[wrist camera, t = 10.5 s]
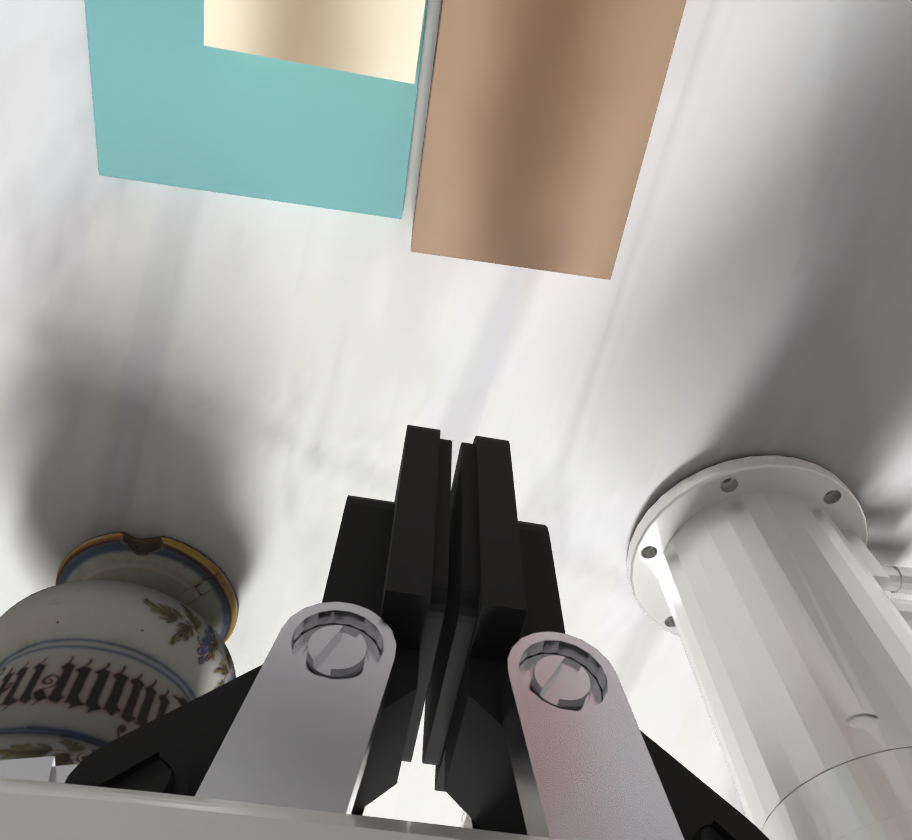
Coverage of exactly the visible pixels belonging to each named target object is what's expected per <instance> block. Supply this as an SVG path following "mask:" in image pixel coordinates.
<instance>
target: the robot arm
mask: <svg viewBox="0 0 912 840" xmlns="http://www.w3.org/2000/svg"><path fill="white" fill-rule="evenodd" d="M451 459H452V441H451V440H444V439H440V430H437V429H431V428H424V427H418V426H412V425H407V431H406V436H405V442H404V448H403V454H402V460H401V466H400V472H399V478H398V484H397V490H396V496H395V502H389V501H383V500H376V499H369V498H363V497H356V496H349V495H348V497H347V501H346V505H345V509H344V513H343V517H342V521H341V526H340V530H339V534H338V538H337V542H336V546H335V551H334V555H333V559H332V563H331V567H330V572H329V576H328V580H327V584H326V588H325V592H324V597H323V601H322V603H319V604H316V605H313V606H310V607H307V608H304V609H302V610H301V611H299V612H298V613H296V614H295V615H293V616H292V617H290V619H289V620H288V621H287V622H286V624H285V625H284V626H283V628H282V629H281V631H280V633H279V635H278V637H277V639H276V640H275V642H274V644H273V646H272V648H271V650H270V652H269V654H268V656H267V658H266V660H265V662H264V664H263V665H261V666H259V667H257V668H255V669H253V670H251V671H249V672H247V673H245V674H243V675H241V676H239V677H237V678H235V679H233V680H231V681H229V682H227V683H225V684H223V685H221V686H219V687H217V688H216V689H214V690H212V691H210V692H208V693H206V694H204V695H202V696H200V697H198V698H196V699H194V700H192V701H190V702H188V703H186V704H184V705H182V706H180V707H178V708H176V709H174V710H172V711H170V712H168V713H166V714H164V715H162V716H160V717H158V718H156V719H154V720H152V721H150V722H148V723H146V724H144V725H142V726H141V727H139V728H137V729H135V730H133V731H131V732H129V733H127V734H125V735H123V736H121V737H119V738H117V739H115V740H113V741H111V742H109V743H107V744H105V745H103V746H102V747H100V748H99V749H97V750H96V751H94V752H93V753H91V754H90V755H88V756H87V757H85V758H84V759H83V760H82V761H81V762H80V763H79V764H73V765H61V766H55V758H54V756H49V757H36V758H24V759H11V760H0V840H912V601H911V600H901V599H891V598H888V596H887V595H886V594H885V592H884V591H890V592H891V593H899V594H909V595H912V568H905V567H883V566H881V564H880V563H879V562H878V561H877V560H876V558H875V557H874V556H873V554H872V553H871V552H870V550H869V549H868V548H867V538H868V531H867V523H866V517H865V515H864V513H863V510H862V508H861V506H860V503H859V502H858V500H857V499H856V498H855V496H854V495H853V494H852V493H851V491H850V490H849V489H848V487H847V486H846V485H845V484H844V483H843V482H842V481H841V480H840V479H838V478H837V477H836V476H835V475H834V474H833V473H831V472H829V471H828V470H826V469H824V468H822V467H820V466H819V465H817V464H814V463H811V462H808V461H804V460H801V459H798V458H792V457H784V456H776V455H770V456H750V457H745V458H740V459H735V460H730V461H725V462H723V463H720V464H717V465H714V466H711V467H709V468H706V469H703V470H701V471H699V472H697V473H695V474H694V475H692V476H690V477H688V478H686V479H684V480H682V481H681V482H679V483H678V484H677V485H675V486H674V487H673V488H671V489H670V490H669V491H667V492H666V493H665V494H663V495H662V496H661V497H660V498H659V499H658V500H657V501H656V502H655V503H654V504H653V505H652V507H651V508H650V509H649V510H648V511H647V512H646V514H645V515H644V517H643V518H642V520H641V521H640V523H639V524H638V526H637V527H636V530H635V532H634V535H633V537H632V539H631V542H630V545H629V550H628V556H627V570H628V578H629V581H630V584H631V588H632V591H633V595H634V597H635V599H636V600H637V602H638V604H639V606H640V608H641V610H642V611H643V612H644V613H645V614H646V615H647V616H648V617H649V618H650V620H651V621H653V622H654V623H655V624H657V625H658V626H659V627H661V628H662V629H664V630H665V631H668V632H670V633H672V634H674V635H677V636H679V637H680V638H681V641H682V644H683V646H684V649H685V652H686V654H687V657H688V660H689V663H690V665H691V668H692V671H693V673H694V676H695V679H696V681H697V684H698V687H699V690H700V692H701V695H702V698H703V700H704V703H705V706H706V708H707V711H708V714H709V717H710V719H711V722H712V725H713V727H714V730H715V733H716V736H717V738H718V741H719V744H720V746H721V749H722V752H723V754H724V757H725V760H726V763H727V765H728V768H729V771H730V773H731V776H732V779H733V782H734V784H735V787H736V790H737V792H738V795H739V798H740V800H741V803H742V806H743V809H744V811H745V814H746V817H747V818H746V817H745V816H744V815H742V814H741V813H740V812H739V811H737V810H736V809H735V808H734V807H733V806H731V805H730V804H729V803H728V802H727V801H725V800H724V799H723V798H722V797H720V796H719V795H718V794H717V793H716V792H714V791H713V790H712V789H711V788H710V787H708V786H707V785H706V784H705V783H703V782H702V781H701V780H700V779H699V778H697V777H696V776H695V775H694V774H693V773H691V772H690V771H689V770H688V769H686V768H685V767H684V766H683V765H682V764H680V763H679V762H678V761H677V760H676V759H674V758H673V757H672V756H671V755H669V754H668V753H667V752H666V751H665V750H663V749H662V748H661V747H660V746H659V745H657V744H656V743H655V742H654V741H652V740H651V739H650V738H649V737H648V736H646V735H645V734H644V733H643V732H642V731H640V730H639V727H638V725H637V722H636V720H635V717H634V715H633V713H632V710H631V708H630V705H629V703H628V700H627V698H626V695H625V693H624V690H623V688H622V686H621V683H620V681H619V678H618V676H617V674H616V672H615V670H614V669H613V667H612V665H611V664H610V662H609V661H608V660H607V659H606V658H605V657H604V656H603V655H602V654H601V653H600V652H599V651H598V650H597V649H596V648H594V647H593V646H591V645H589V644H588V643H586V642H585V641H583V640H581V639H578V638H576V637H573V636H570V635H568V634H565V629H564V623H563V616H562V610H561V604H560V598H559V592H558V586H557V580H556V573H555V567H554V561H553V555H552V549H551V543H550V536H549V532H548V528H547V527H546V526H545V525H541V524H535V523H528V522H521V521H518V519H517V510H516V500H515V490H514V481H513V471H512V462H511V452H510V444H509V441H506V440H500V439H493V438H487V437H481V436H476V437H475V439H474V442H473V444H470V443H463V442H462V443H461V446H460V450H459V455H458V460H457V464H456V469H455V474H454V479H453V484H452V488H451ZM425 698H426V700H425ZM424 703H425V718H424V736H423V754H422V762H423V763H424V764H432V765H436V770H435V790H437V791H445V792H447V793H448V794H449V795H450V796H451V797H452V798H453V799H454V800H455V801H456V803H457V804H458V805H459V806H460V807H461V808H462V809H463V810H464V811H463V815H462V827H454V826H445V825H437V824H428V823H420V822H411V821H403V820H394V819H386V818H378V817H369V816H365V811H366V806H367V805H368V804H369V803H371V802H372V801H373V800H375V799H376V798H377V797H379V796H380V795H382V794H383V793H384V792H386V791H387V790H388V789H390V788H391V787H393V786H394V785H395V784H397V780H398V775H399V770H400V766H401V761H408V762H411V760H412V756H413V751H414V747H415V742H416V738H417V734H418V729H419V725H420V720H421V716H422V711H423V707H424Z"/></svg>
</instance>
